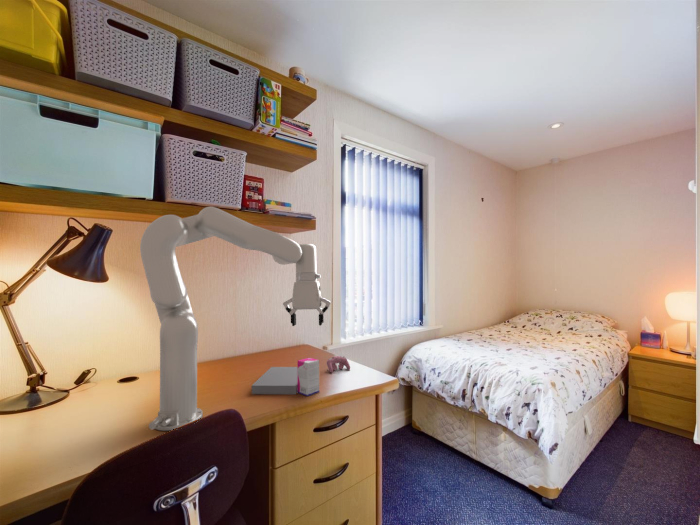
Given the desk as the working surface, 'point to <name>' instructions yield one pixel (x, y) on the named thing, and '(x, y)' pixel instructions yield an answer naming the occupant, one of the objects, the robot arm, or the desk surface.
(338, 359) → the pink toy elephant
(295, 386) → the riser
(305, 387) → the supplement box
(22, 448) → the desk surface
